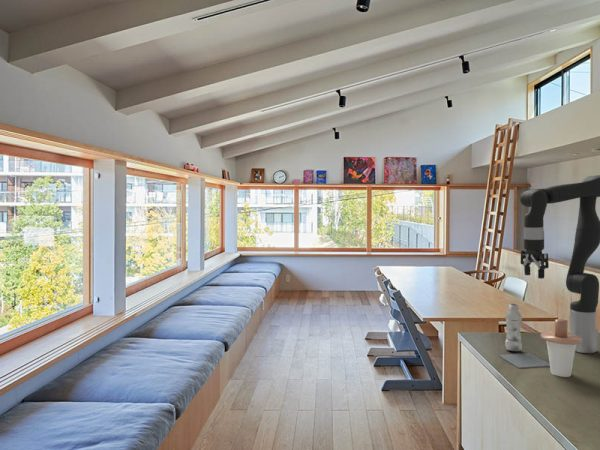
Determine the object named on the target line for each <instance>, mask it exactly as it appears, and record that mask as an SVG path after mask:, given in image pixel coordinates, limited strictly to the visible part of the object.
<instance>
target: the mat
mask: <svg viewBox="0 0 600 450" xmlns="http://www.w3.org/2000/svg"><path fill="white" fill-rule="evenodd" d="M497 357H499V358H501V359H502V360H504V361H506V362H507V363H509V364H511V365H512V366H513V367H516V368H517V369H529V368H530V369H531V368H545V367H548V368H550V362H547V361H545V360H543V359H542V358H539V357H537V356H536V355H534V354H532V353H529V352H526V353H509V354H507V353H506V354H498V355H497Z"/></svg>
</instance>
